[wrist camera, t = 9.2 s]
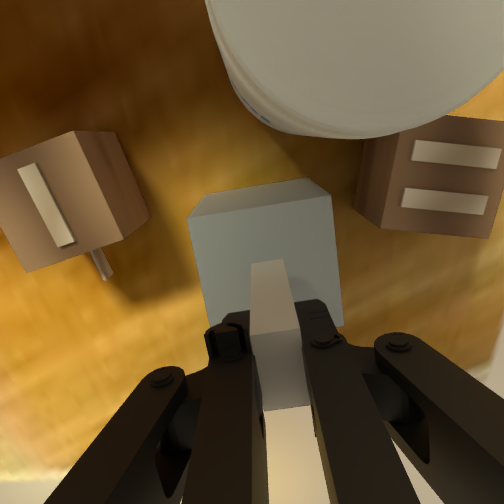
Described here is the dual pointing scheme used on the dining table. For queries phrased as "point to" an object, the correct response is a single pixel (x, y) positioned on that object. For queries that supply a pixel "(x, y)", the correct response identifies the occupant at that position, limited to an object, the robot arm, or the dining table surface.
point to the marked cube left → (69, 199)
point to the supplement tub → (357, 61)
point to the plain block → (266, 244)
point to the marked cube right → (434, 177)
